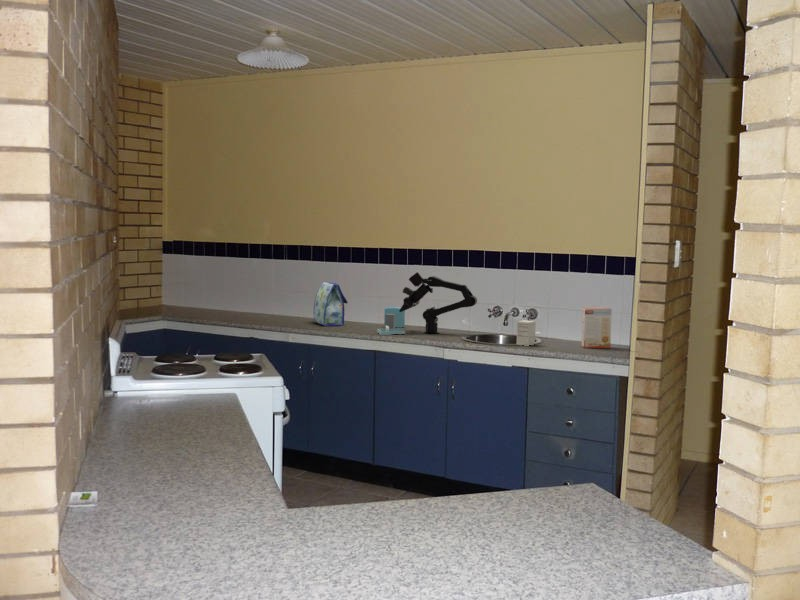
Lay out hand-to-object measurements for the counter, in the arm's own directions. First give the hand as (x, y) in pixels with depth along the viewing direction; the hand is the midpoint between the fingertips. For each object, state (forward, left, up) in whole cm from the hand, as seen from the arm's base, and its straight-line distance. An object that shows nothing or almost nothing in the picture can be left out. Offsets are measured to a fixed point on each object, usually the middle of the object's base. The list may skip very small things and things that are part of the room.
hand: (401, 310), depth 462 cm
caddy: (-3, +12, -12) cm, 17 cm away
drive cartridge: (+6, +4, -12) cm, 14 cm away
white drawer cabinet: (-78, -16, -12) cm, 80 cm away
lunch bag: (+53, +11, -12) cm, 55 cm away
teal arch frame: (+18, -11, -12) cm, 24 cm away
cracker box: (-106, -37, -12) cm, 113 cm away
